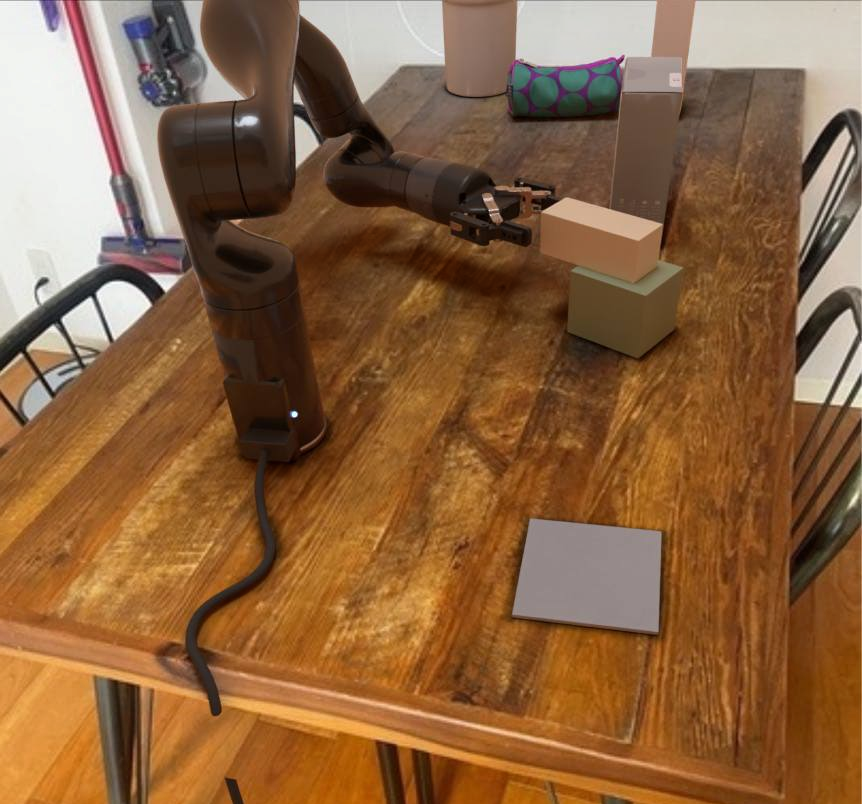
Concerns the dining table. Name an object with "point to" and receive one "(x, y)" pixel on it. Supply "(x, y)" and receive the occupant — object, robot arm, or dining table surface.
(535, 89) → the pencil case
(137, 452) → the dining table surface
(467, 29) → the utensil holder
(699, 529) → the dining table surface
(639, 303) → the block
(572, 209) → the carton
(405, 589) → the dining table surface
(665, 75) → the hard drive box
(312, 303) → the dining table surface
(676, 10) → the pink rectangular pillar
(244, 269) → the robot arm
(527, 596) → the mat
